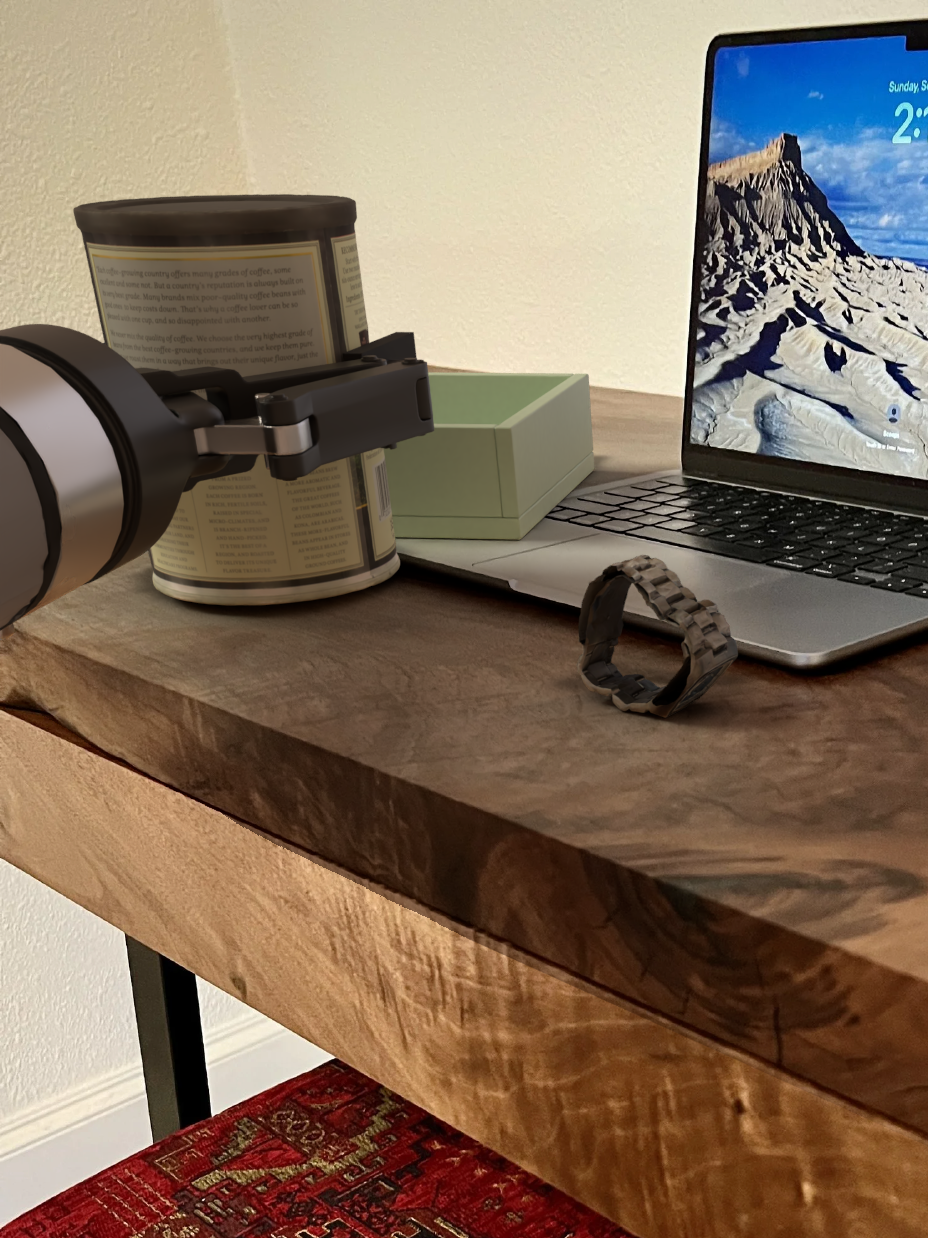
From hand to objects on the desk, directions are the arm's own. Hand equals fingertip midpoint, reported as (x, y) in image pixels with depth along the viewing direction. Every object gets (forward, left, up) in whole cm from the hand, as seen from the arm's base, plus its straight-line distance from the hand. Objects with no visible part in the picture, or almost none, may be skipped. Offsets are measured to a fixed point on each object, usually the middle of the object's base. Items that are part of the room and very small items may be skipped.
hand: (285, 365), depth 68 cm
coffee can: (0, -4, -8) cm, 9 cm away
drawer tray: (0, +13, -8) cm, 15 cm away
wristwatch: (+19, -18, -8) cm, 28 cm away
